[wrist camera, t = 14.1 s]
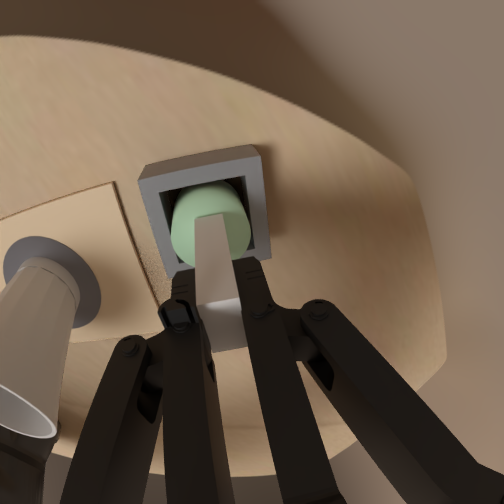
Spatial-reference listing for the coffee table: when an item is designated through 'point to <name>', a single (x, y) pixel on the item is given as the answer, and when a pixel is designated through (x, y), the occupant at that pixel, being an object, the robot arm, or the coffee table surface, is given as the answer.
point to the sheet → (86, 261)
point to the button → (206, 204)
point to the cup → (35, 345)
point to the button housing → (196, 172)
